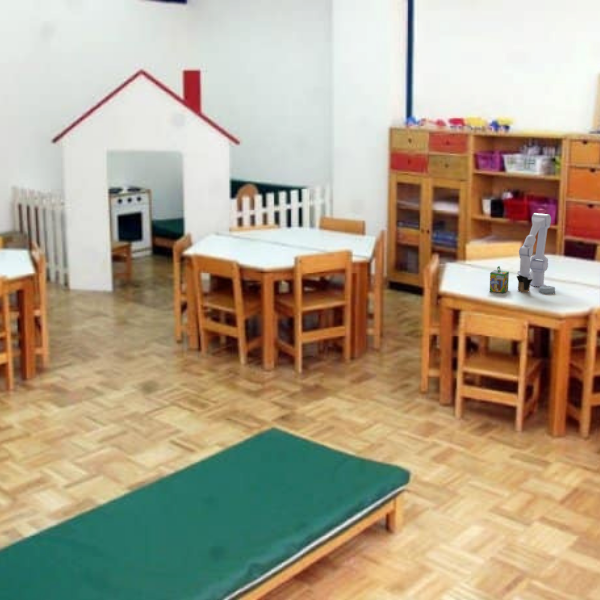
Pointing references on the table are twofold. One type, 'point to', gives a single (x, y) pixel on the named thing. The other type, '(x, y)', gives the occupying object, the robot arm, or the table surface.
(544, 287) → the platform
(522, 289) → the cube
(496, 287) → the chalk box
